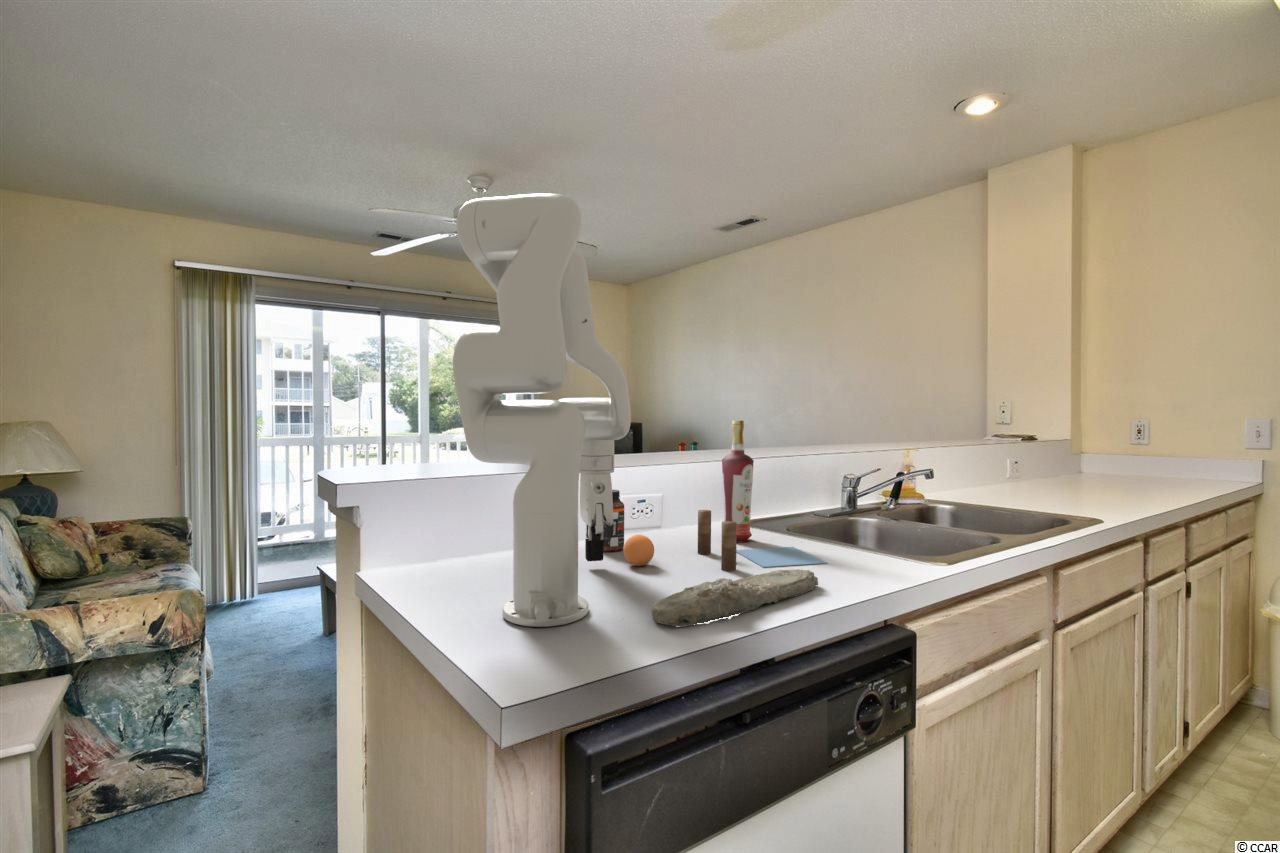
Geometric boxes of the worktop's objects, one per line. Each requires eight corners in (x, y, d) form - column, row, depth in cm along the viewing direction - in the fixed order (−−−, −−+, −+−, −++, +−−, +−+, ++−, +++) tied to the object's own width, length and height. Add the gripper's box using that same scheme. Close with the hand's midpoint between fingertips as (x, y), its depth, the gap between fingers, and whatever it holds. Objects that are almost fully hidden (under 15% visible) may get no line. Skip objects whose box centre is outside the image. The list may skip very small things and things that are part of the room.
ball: (657, 568, 113) (658, 537, 112) (627, 570, 111) (627, 538, 111) (649, 560, 118) (649, 531, 118) (620, 562, 117) (620, 532, 117)
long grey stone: (833, 599, 100) (785, 589, 108) (833, 568, 100) (785, 559, 108) (682, 637, 78) (635, 620, 86) (683, 596, 78) (636, 583, 86)
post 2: (738, 570, 111) (738, 523, 111) (724, 571, 111) (725, 524, 110) (732, 567, 114) (733, 520, 114) (719, 568, 113) (719, 521, 113)
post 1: (712, 554, 124) (713, 511, 124) (700, 555, 123) (700, 512, 123) (708, 551, 127) (708, 509, 127) (695, 551, 126) (696, 510, 126)
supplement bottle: (623, 552, 125) (623, 492, 125) (591, 552, 125) (591, 492, 125) (625, 545, 132) (625, 488, 132) (594, 545, 132) (595, 488, 132)
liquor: (738, 545, 133) (739, 421, 132) (714, 539, 139) (715, 420, 138) (759, 540, 138) (760, 420, 137) (735, 535, 143) (736, 420, 143)
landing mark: (827, 563, 117) (827, 562, 117) (763, 567, 114) (763, 566, 114) (792, 547, 131) (792, 546, 131) (734, 551, 127) (734, 550, 127)
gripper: (622, 467, 106) (622, 569, 106) (605, 460, 120) (605, 549, 121) (581, 468, 104) (581, 571, 105) (569, 461, 118) (569, 551, 119)
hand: (594, 559), depth 113 cm, fingers closed
